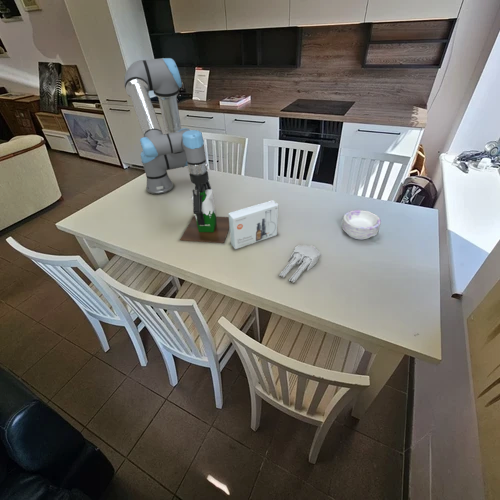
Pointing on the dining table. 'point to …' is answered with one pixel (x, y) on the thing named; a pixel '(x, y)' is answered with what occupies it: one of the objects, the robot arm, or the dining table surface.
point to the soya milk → (207, 212)
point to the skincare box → (253, 224)
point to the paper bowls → (361, 224)
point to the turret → (301, 260)
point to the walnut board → (215, 237)
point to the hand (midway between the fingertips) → (205, 216)
